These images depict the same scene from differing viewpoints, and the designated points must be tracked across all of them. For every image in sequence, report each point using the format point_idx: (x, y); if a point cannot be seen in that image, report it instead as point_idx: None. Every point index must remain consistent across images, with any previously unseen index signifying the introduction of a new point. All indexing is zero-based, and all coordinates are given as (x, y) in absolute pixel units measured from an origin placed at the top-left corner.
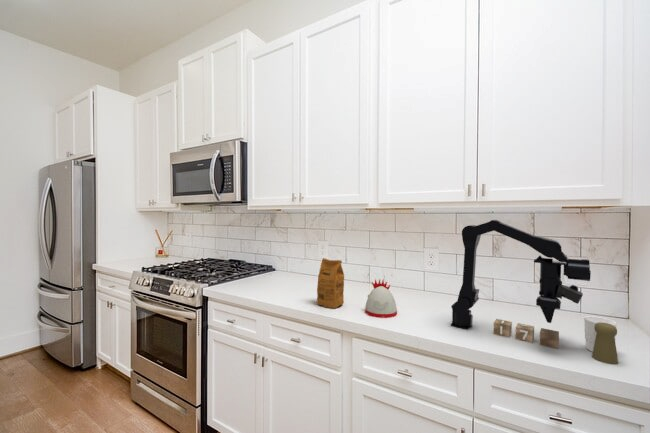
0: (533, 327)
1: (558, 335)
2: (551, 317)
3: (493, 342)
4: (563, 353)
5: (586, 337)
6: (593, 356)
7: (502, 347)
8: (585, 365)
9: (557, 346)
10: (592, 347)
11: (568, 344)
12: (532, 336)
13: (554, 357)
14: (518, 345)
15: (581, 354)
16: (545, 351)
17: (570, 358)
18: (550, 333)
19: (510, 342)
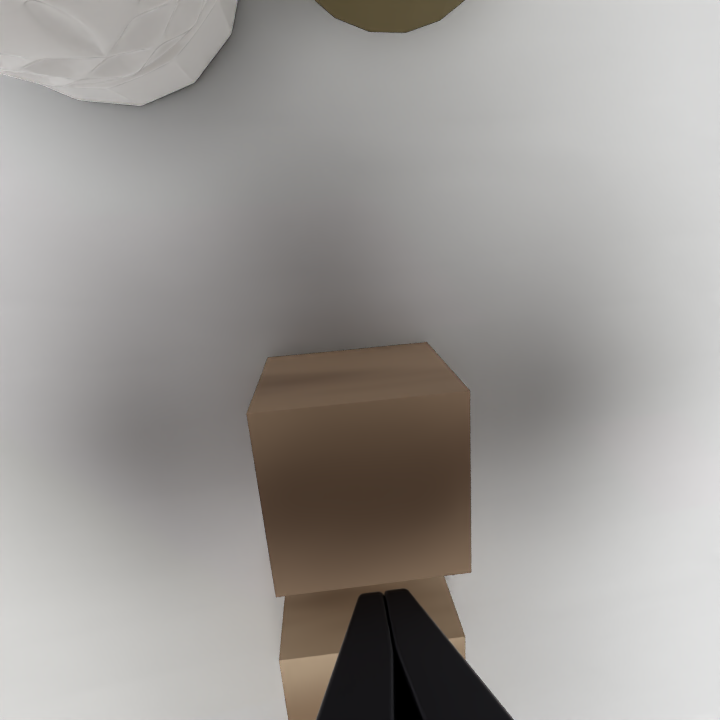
0: (337, 655)
1: (428, 393)
2: (485, 694)
3: (621, 711)
4: (511, 288)
5: (136, 45)
6: (445, 7)
7: (684, 648)
8: (707, 85)
9: (435, 354)
10: (227, 4)
11: (185, 278)
12: (441, 578)
13: (666, 336)
14: (566, 589)
15: (413, 137)
16: (566, 416)
17: (605, 220)
18: (429, 478)
19: (539, 642)
